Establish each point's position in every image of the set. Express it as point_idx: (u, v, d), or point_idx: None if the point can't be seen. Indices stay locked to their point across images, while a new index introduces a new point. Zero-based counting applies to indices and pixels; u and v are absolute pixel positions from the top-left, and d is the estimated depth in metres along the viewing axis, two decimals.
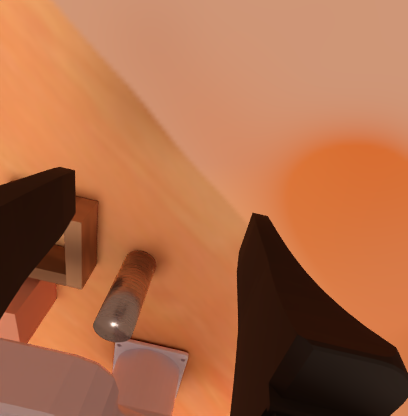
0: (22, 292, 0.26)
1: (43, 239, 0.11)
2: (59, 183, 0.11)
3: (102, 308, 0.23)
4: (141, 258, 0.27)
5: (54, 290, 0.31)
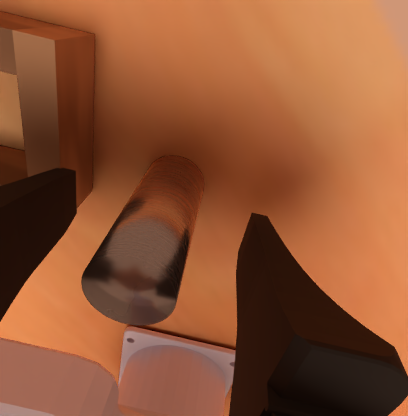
0: None
1: (44, 239, 0.11)
2: (60, 184, 0.11)
3: (104, 243, 0.09)
4: (180, 165, 0.14)
5: None
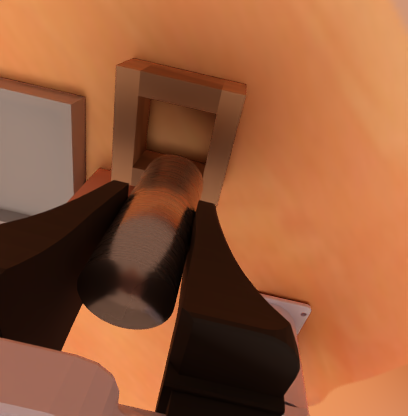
0: None
1: None
2: (118, 198, 0.11)
3: (99, 245, 0.09)
4: (178, 164, 0.13)
5: None
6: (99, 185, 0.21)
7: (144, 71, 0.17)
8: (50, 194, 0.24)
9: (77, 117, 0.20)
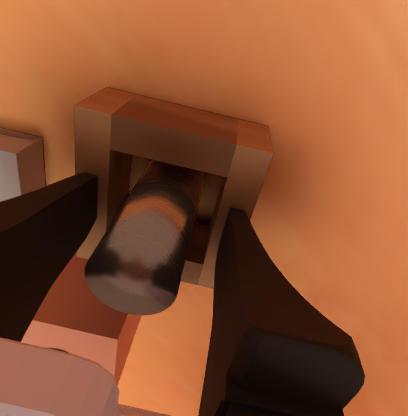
0: None
1: (68, 245, 0.11)
2: (85, 189, 0.11)
3: (106, 234, 0.10)
4: None
5: None
6: None
7: (118, 115, 0.11)
8: None
9: (29, 167, 0.14)
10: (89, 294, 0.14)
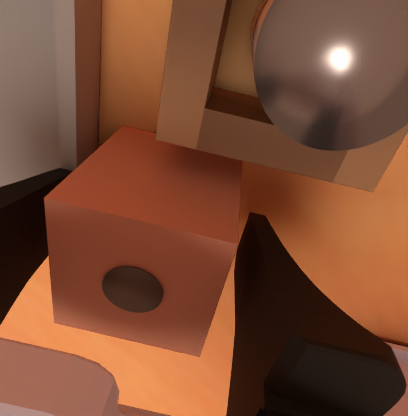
0: (220, 198, 0.10)
1: (46, 239, 0.11)
2: None
3: None
4: None
5: None
6: (127, 152, 0.11)
7: None
8: (36, 173, 0.14)
9: (86, 6, 0.10)
10: (177, 191, 0.10)
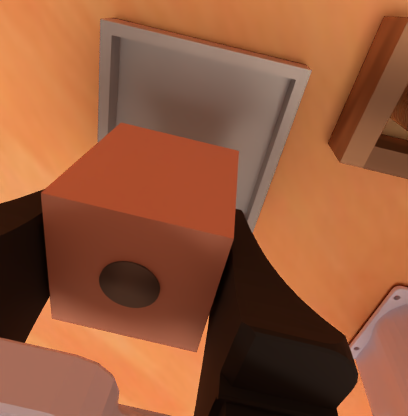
0: (217, 194, 0.10)
1: None
2: None
3: None
4: None
5: None
6: (124, 148, 0.11)
7: None
8: None
9: None
10: (173, 186, 0.10)
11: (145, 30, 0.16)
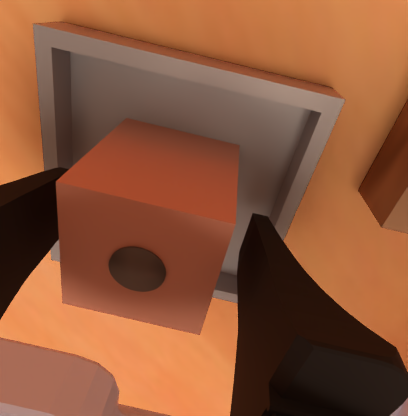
0: (219, 184, 0.10)
1: (43, 239, 0.11)
2: None
3: None
4: None
5: None
6: (131, 142, 0.12)
7: None
8: None
9: None
10: (178, 177, 0.10)
11: (100, 40, 0.11)
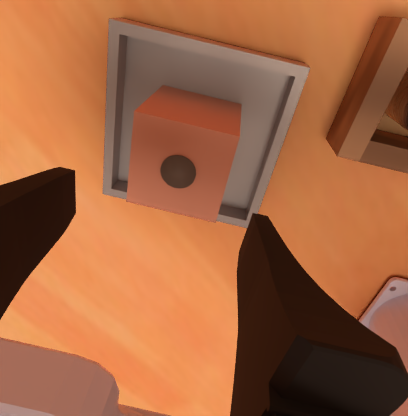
0: (229, 120, 0.16)
1: (43, 239, 0.11)
2: (59, 184, 0.11)
3: None
4: None
5: None
6: (170, 97, 0.18)
7: None
8: (230, 174, 0.22)
9: None
10: (203, 115, 0.16)
11: (151, 29, 0.17)
